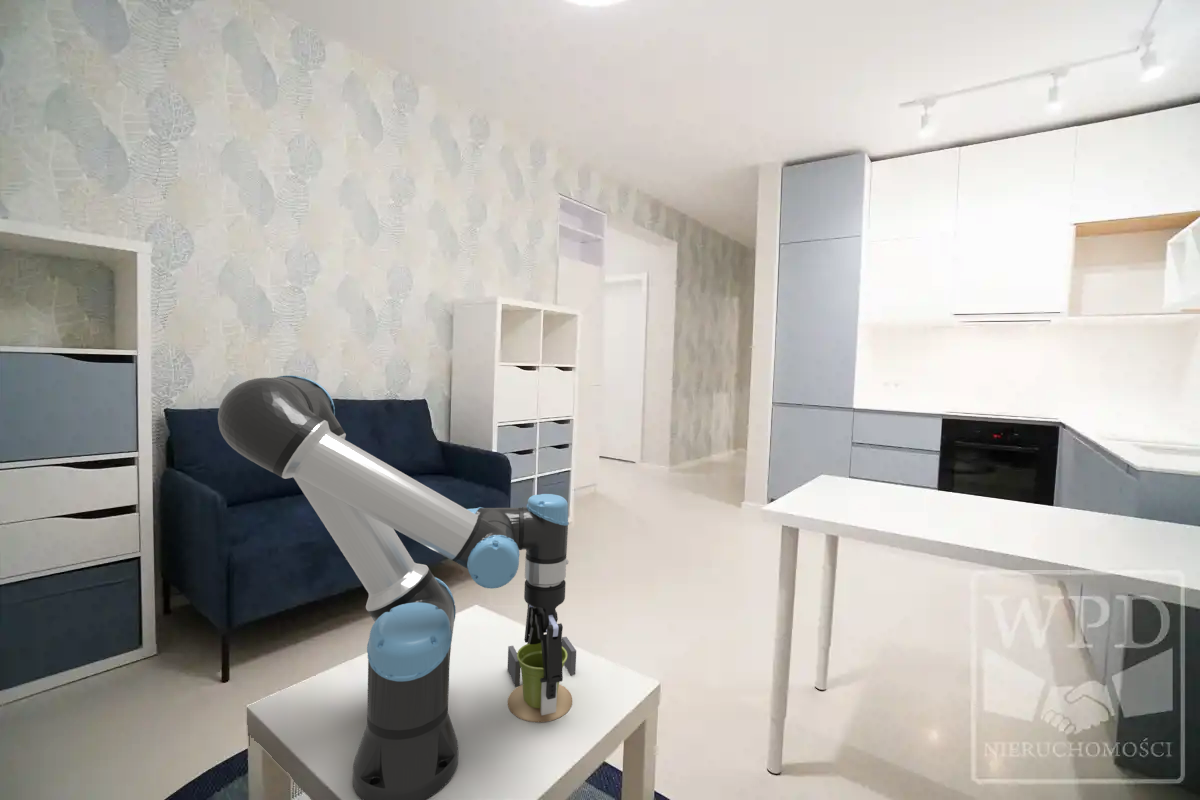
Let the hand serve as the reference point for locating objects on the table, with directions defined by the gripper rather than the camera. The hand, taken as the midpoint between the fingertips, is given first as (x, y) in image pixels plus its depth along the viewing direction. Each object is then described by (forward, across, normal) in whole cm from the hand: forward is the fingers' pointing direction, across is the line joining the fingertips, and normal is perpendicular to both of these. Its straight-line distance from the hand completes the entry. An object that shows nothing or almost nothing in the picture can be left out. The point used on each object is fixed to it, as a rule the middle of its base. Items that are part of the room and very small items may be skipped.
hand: (540, 697), depth 100 cm
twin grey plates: (+1, +9, -3) cm, 9 cm away
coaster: (+1, 0, 0) cm, 1 cm away
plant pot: (0, 0, 0) cm, 0 cm away
